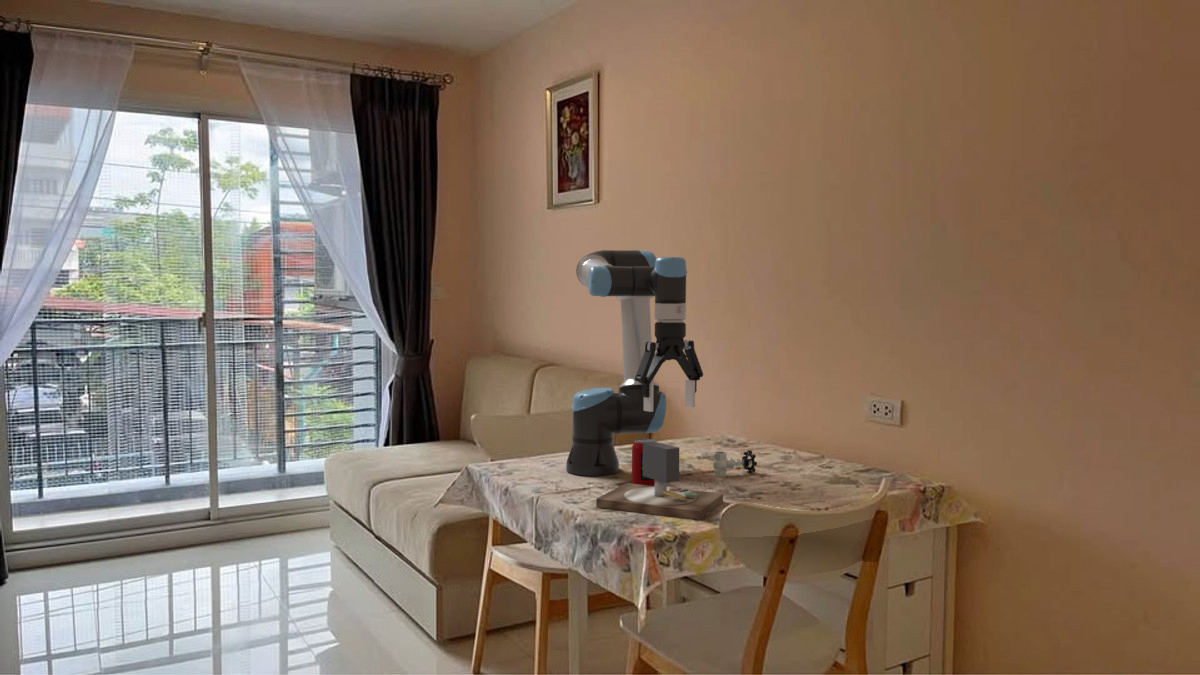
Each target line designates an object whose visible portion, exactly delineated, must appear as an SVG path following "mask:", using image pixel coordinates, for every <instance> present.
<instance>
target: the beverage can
mask: <svg viewBox="0 0 1200 675" xmlns="http://www.w3.org/2000/svg"><path fill="white" fill-rule="evenodd" d="M651 442H656V440H655V439H654V438H653V439H651V438H636V439H635V440H634V442H633V443H632V446H631V484H639V485H648V486H654V480H655V479H652V478H648V477H645V476H643V443H651Z"/></svg>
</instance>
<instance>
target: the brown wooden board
mask: <svg viewBox="0 0 1200 675" xmlns="http://www.w3.org/2000/svg"><path fill="white" fill-rule="evenodd" d="M667 491H670V492H674V493H677V494H680V495H683V496H685V499H683V500H682V499H678V498H675V497H672V496H669V495H666V496H656V495H654V486H648V485H639V484H633V483H628V482H625V483H623V484H621V485H620V486H618V487H617V486H616V488H614V489H612V490H610V491H608V492H607V493H605V494H603V495H600V496H599V497H597V498H596V499H595V500H596V502H595V504H596V505H595V507H596V508H601V509H610V510H618V511H619V510H620V511H626V512H635V513H643V514H649V515H650V514H651V515H657V516H667V517H675V518H682V519H689V520H690V519H691V520H698V521H699V520H702V519H703V518H704V517H706V516H707V515H708V514H709V513H711V512H712V511H713V510H715V509H716V508H718V506H720V505H721V504H722V503H723V502H724V493H721V492H711V491H702V490H695V489H694V490H693V489H687V488H685V489H684V488H682V487H679V486H673V487H670V486H667ZM715 507H716V508H715ZM712 509H713V510H712ZM711 510H712V511H711ZM710 511H711V512H710ZM708 512H709V513H708ZM707 513H708V514H707ZM706 514H707V515H706ZM705 515H706V516H705Z"/></svg>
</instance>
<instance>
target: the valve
mask: <svg viewBox="0 0 1200 675" xmlns="http://www.w3.org/2000/svg"><path fill="white" fill-rule="evenodd" d="M756 458H757V457H756V454H754V453H753V450H752V449H750V450H747V451H744V452H743V456H742V457H741V459H735V460H734V459H733V458H732V457H728V458H727V452H726V451H719V450H718V451H714V459H713V461H712V467H713V469H714V470H713V472H714V473H713V475H714V477H718V478H725V477H727V470H732V469H734V468H735V467H740V466H742V467H743V469H744V470H747V471H746V473H747V474H751V473H755V472H756V468H755V466H758V463H757V461H755V459H756Z"/></svg>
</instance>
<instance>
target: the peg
mask: <svg viewBox="0 0 1200 675" xmlns="http://www.w3.org/2000/svg"><path fill="white" fill-rule="evenodd" d="M643 476H645V477H648V478H652V479H655V480H654V495H656V496H666V495H669V496H672V497H675V498H678V499H682V500H683V499H685V496H683V495H680V494H677V493H674V492H670V491H667V487H668V483H673V482H680V447H679V446H674V445H670V444H666V443H662V442H658V441H655V442H651V443H643Z"/></svg>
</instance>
